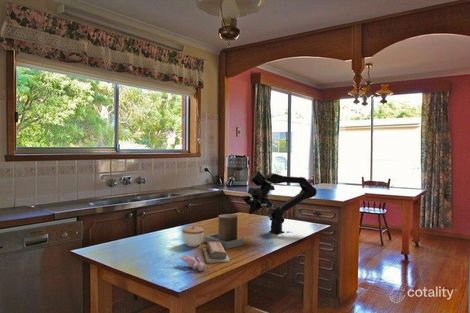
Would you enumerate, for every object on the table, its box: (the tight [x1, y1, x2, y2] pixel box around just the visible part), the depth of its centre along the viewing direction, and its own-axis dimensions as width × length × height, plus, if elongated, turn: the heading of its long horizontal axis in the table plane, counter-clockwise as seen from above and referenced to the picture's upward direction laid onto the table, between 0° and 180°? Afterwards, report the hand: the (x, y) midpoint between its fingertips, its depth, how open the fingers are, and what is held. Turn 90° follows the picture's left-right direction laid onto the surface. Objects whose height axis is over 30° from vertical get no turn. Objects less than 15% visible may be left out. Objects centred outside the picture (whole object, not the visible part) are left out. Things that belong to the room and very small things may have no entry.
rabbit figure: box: [179, 254, 211, 274], centre depth 138 cm, size 6×6×15 cm
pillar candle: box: [217, 213, 238, 242], centre depth 175 cm, size 10×10×15 cm
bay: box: [203, 232, 245, 250], centre depth 173 cm, size 12×17×3 cm
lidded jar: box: [181, 225, 205, 247], centre depth 170 cm, size 11×11×9 cm
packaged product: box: [202, 242, 231, 264], centre depth 153 cm, size 18×5×10 cm
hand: (249, 213), depth 185 cm, fingers closed
